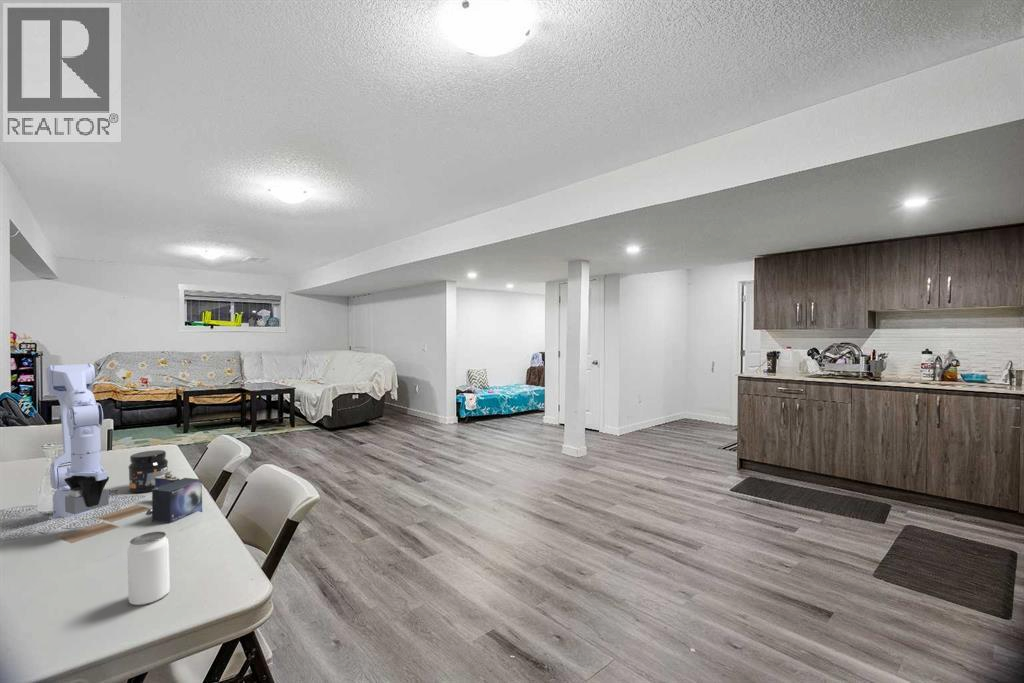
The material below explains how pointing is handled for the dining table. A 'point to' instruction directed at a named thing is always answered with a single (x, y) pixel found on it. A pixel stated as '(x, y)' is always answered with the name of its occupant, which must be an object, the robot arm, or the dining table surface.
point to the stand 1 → (87, 532)
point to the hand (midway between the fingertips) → (87, 504)
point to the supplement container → (146, 470)
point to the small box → (176, 500)
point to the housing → (82, 501)
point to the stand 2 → (123, 513)
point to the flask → (164, 479)
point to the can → (148, 568)
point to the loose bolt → (149, 512)
